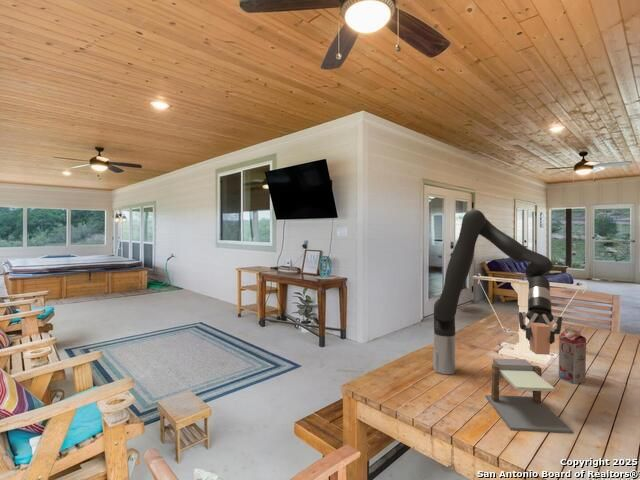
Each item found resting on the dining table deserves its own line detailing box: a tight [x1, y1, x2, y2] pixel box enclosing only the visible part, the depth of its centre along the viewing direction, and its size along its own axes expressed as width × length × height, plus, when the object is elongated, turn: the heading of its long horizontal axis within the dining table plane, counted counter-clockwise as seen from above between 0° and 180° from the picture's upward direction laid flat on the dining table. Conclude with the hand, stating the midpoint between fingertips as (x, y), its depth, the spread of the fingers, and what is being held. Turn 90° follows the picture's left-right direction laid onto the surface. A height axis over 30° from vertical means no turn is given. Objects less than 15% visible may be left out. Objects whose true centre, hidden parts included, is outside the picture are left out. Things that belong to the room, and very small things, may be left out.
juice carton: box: [558, 326, 587, 384], centre depth 148 cm, size 7×7×22 cm
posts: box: [490, 363, 543, 404], centre depth 129 cm, size 17×2×14 cm, turn 84°
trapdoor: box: [492, 358, 556, 392], centre depth 124 cm, size 20×12×5 cm, turn 174°
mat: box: [484, 394, 574, 434], centre depth 122 cm, size 19×22×1 cm
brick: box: [529, 323, 551, 356], centre depth 123 cm, size 4×4×10 cm
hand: (540, 341), depth 122 cm, fingers closed on brick, 6 cm apart
